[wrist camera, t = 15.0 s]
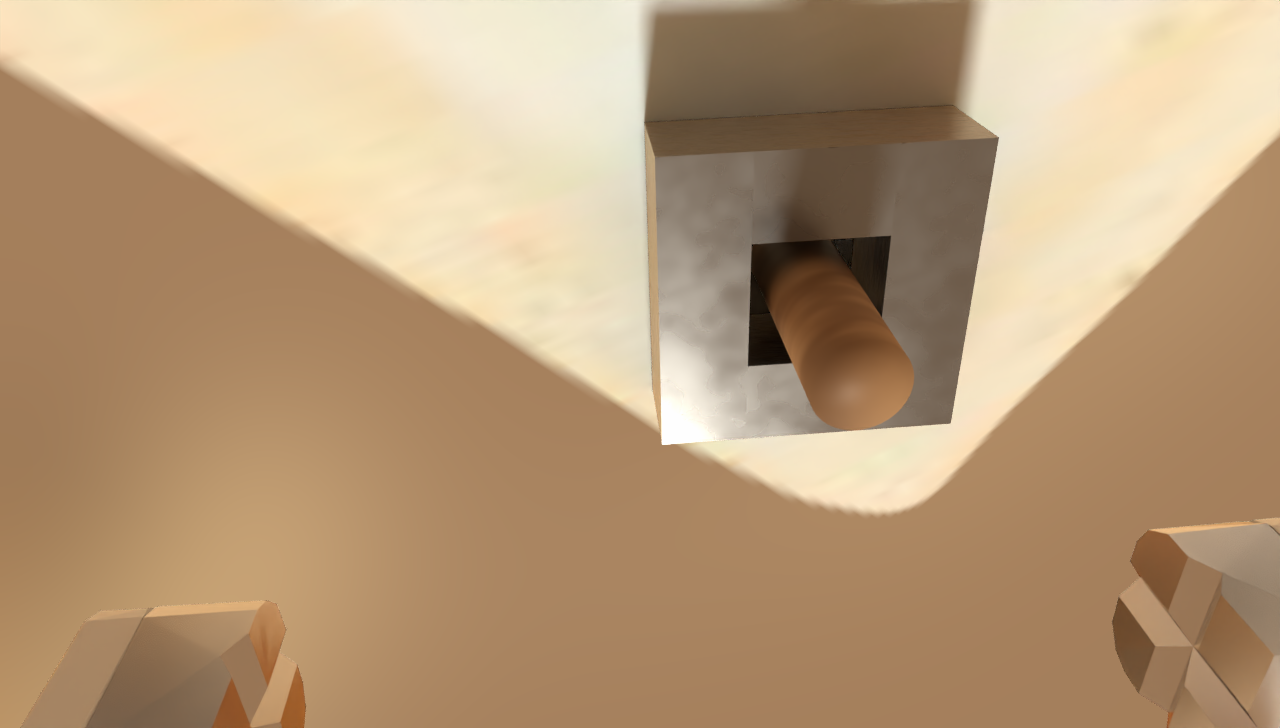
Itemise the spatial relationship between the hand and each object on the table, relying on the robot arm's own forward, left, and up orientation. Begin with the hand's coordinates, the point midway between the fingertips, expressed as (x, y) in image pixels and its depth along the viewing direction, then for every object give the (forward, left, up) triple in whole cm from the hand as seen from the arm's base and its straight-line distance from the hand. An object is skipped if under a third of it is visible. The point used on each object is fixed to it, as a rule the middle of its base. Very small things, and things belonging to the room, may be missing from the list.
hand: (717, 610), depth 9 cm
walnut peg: (-9, +12, -34) cm, 37 cm away
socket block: (-9, +12, -34) cm, 37 cm away
